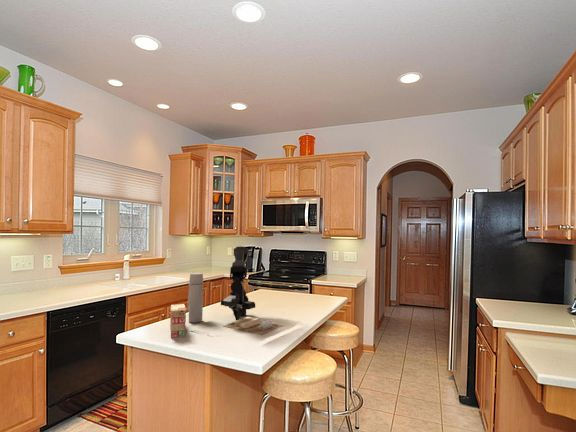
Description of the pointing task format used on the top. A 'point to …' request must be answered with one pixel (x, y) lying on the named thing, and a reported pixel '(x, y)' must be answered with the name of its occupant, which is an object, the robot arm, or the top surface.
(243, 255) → the robot arm
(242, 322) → the birch plate
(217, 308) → the top surface
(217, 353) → the top surface
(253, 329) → the bench board
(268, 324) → the bench dog
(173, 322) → the stack of blocks
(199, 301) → the water bottle
